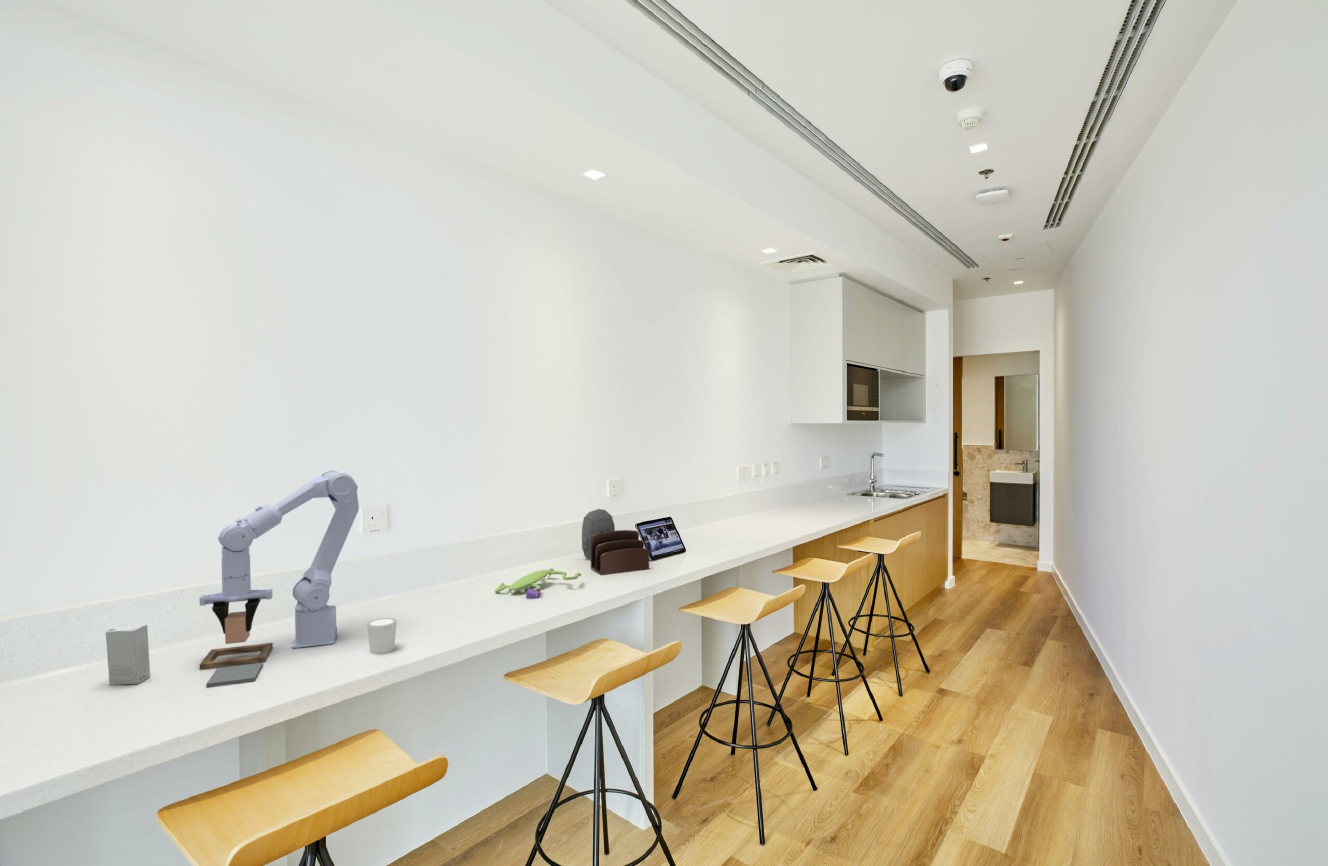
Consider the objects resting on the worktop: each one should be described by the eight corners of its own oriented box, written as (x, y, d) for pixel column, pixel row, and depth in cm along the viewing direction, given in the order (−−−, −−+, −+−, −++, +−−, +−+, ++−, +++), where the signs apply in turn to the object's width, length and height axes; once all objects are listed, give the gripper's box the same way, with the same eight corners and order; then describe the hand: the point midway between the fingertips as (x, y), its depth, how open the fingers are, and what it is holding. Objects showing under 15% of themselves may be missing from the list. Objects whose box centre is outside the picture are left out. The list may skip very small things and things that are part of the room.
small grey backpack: (608, 554, 270) (608, 506, 269) (620, 557, 263) (621, 508, 262) (577, 559, 260) (577, 509, 259) (589, 563, 254) (589, 512, 253)
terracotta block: (249, 635, 160) (249, 610, 159) (245, 641, 155) (244, 617, 155) (230, 637, 158) (230, 612, 158) (225, 644, 153) (224, 619, 153)
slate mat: (263, 666, 152) (262, 662, 152) (254, 681, 144) (254, 677, 144) (217, 671, 149) (217, 668, 149) (206, 687, 140) (206, 683, 140)
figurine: (587, 587, 221) (587, 571, 221) (521, 604, 202) (521, 586, 202) (554, 577, 234) (554, 562, 234) (489, 592, 215) (489, 575, 215)
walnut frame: (272, 647, 164) (272, 642, 164) (265, 662, 154) (264, 657, 154) (211, 654, 159) (211, 649, 159) (199, 669, 150) (199, 664, 150)
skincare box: (151, 676, 146) (149, 623, 145) (137, 685, 141) (135, 630, 141) (121, 677, 145) (120, 623, 145) (106, 686, 141) (104, 630, 140)
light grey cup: (402, 647, 164) (402, 620, 164) (378, 656, 158) (378, 628, 158) (385, 642, 168) (385, 615, 167) (361, 651, 162) (360, 623, 162)
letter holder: (590, 569, 245) (590, 532, 244) (637, 564, 254) (638, 528, 253) (600, 576, 236) (600, 537, 235) (649, 569, 245) (649, 532, 245)
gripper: (195, 582, 149) (196, 640, 150) (268, 576, 155) (269, 633, 155) (203, 574, 156) (205, 630, 157) (273, 569, 161) (274, 623, 162)
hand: (237, 631), depth 156 cm, fingers closed on terracotta block, 4 cm apart
